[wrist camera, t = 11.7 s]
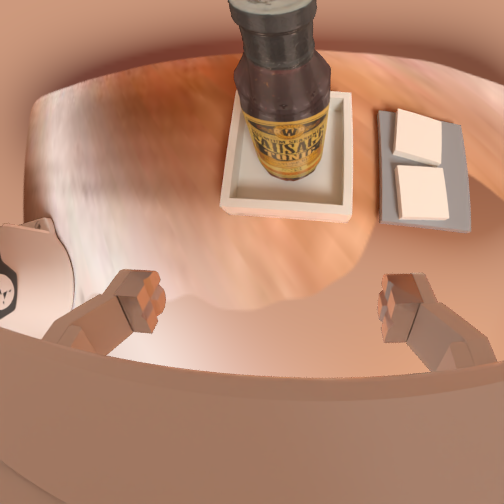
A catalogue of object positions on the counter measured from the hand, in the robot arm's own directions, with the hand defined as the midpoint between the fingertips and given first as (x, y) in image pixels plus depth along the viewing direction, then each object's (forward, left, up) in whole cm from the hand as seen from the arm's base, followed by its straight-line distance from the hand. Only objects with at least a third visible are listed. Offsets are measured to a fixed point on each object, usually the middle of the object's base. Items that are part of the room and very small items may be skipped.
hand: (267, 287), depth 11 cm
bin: (-1, +13, -19) cm, 23 cm away
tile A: (+12, +10, -17) cm, 23 cm away
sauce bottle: (-1, +13, -18) cm, 22 cm away
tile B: (+12, +16, -18) cm, 26 cm away
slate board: (+13, +13, -19) cm, 26 cm away
